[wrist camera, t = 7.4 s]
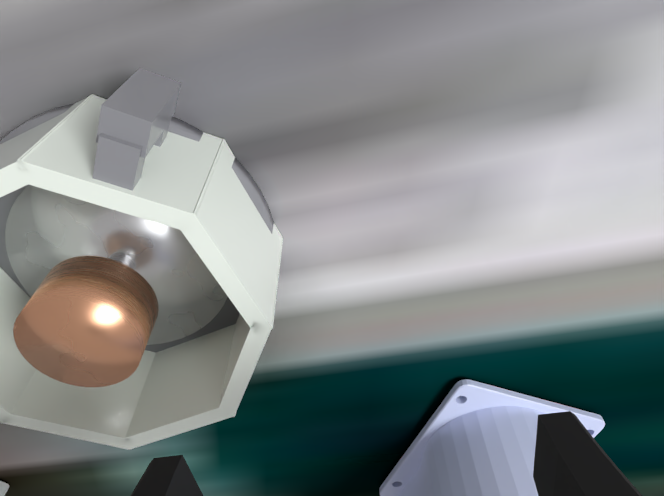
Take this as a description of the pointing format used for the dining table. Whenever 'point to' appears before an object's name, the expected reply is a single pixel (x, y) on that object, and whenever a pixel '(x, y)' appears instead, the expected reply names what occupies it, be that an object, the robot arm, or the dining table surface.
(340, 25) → the dining table surface
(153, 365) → the octagonal hollow frame
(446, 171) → the dining table surface
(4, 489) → the supplement box
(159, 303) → the copper-knobbed silver dome
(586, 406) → the dining table surface
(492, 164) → the dining table surface
